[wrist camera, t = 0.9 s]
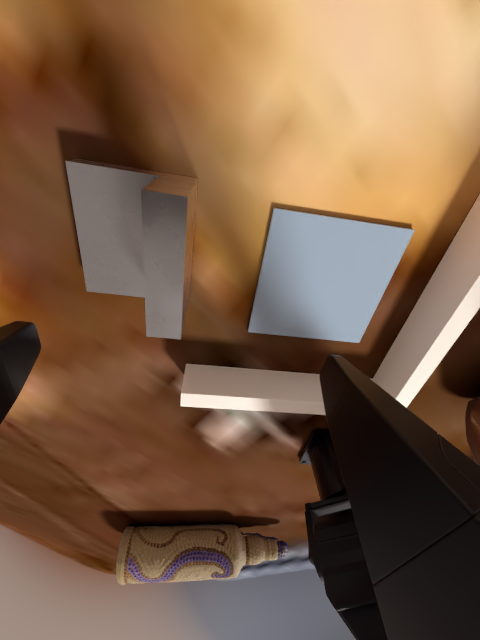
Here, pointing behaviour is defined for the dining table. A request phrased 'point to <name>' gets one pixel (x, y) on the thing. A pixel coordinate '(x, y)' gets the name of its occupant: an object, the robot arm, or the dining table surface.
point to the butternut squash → (473, 428)
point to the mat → (324, 275)
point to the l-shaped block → (398, 365)
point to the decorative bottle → (190, 553)
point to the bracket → (137, 237)
